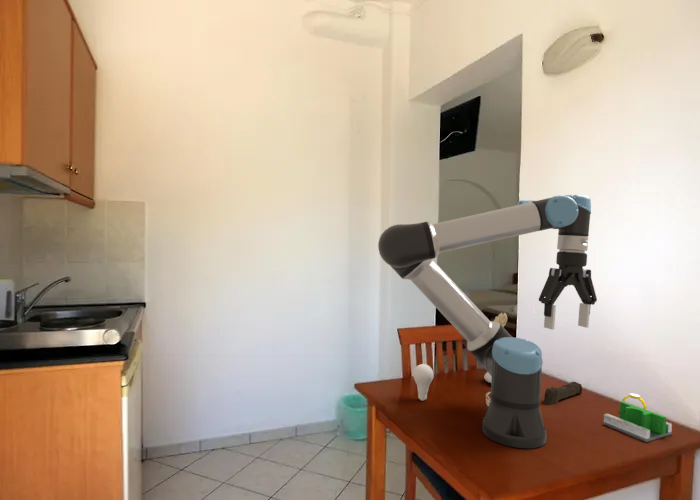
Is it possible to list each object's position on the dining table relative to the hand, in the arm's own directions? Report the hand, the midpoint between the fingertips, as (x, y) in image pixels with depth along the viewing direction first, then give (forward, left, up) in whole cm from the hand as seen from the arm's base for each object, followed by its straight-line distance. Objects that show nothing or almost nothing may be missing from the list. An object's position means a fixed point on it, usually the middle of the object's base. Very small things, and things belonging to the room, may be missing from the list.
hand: (566, 327), depth 122 cm
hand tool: (+12, +10, -26) cm, 30 cm away
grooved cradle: (+12, -13, -25) cm, 31 cm away
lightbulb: (-30, +25, -26) cm, 46 cm away
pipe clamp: (+12, -13, -25) cm, 31 cm away
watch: (+21, -7, -26) cm, 34 cm away
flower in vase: (+4, +27, -26) cm, 38 cm away
